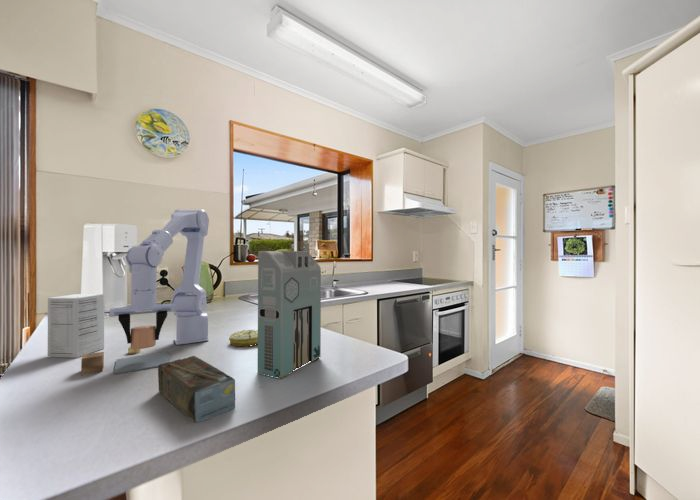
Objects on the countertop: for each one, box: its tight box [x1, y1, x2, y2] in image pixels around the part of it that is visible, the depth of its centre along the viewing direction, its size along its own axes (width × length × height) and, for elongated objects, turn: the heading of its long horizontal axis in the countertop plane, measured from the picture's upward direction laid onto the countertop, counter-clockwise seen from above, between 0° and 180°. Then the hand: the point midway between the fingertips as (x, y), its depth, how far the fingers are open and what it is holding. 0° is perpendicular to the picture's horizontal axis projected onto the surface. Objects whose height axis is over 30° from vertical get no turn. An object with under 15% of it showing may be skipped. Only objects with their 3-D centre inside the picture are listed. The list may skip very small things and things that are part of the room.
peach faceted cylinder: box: [130, 324, 157, 350], centre depth 85 cm, size 6×6×5 cm
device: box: [257, 250, 322, 379], centre depth 83 cm, size 16×8×30 cm, turn 151°
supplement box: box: [47, 293, 105, 359], centre depth 94 cm, size 10×9×17 cm
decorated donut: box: [228, 329, 258, 347], centre depth 104 cm, size 10×11×4 cm
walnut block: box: [80, 351, 105, 376], centre depth 79 cm, size 4×4×4 cm
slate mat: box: [113, 351, 171, 376], centre depth 85 cm, size 12×12×1 cm
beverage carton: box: [157, 355, 236, 424], centre depth 64 cm, size 8×19×7 cm, turn 48°
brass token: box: [127, 346, 141, 355], centre depth 94 cm, size 3×3×2 cm
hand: (143, 340), depth 85 cm, fingers closed on peach faceted cylinder, 6 cm apart
